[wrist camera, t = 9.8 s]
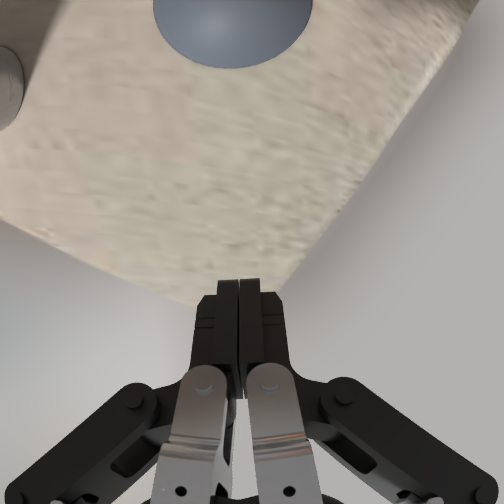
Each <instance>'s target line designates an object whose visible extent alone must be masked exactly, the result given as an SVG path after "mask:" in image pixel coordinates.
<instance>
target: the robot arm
mask: <svg viewBox="0 0 504 504" xmlns="http://www.w3.org/2000/svg"><path fill="white" fill-rule="evenodd" d="M23 89H24V80H23V72H22V68H21V65H20V62H19V60H18V58H17V57H16V55H15V54H14V53H13V52H12V51H11V50H9V49H8V48H5V47H0V131H1V130H3V129H5V128H6V127H7V126H8V125H9V124H10V123H11V122H12V121H13V120H14V118H15V116H16V115H17V113H18V111H19V108H20V105H21V102H22V97H23ZM243 389H244V396H245V399H248V407H249V415H250V425H251V432H252V442H253V453H254V462H255V471H256V478H257V487H258V495H257V496H254V497H249V498H245V499H241V500H235V499H231V494H232V458H233V446H234V435H235V423H236V399H243ZM307 438H310V439H313V440H314V441H315V442H316V443H317V444H318V445H320V446H321V447H322V448H323V449H324V450H325V451H327V452H328V453H329V454H330V455H331V456H333V457H334V458H335V459H336V460H337V461H339V462H340V463H341V464H342V465H343V466H345V467H346V468H347V469H348V470H350V471H351V472H352V473H353V474H355V475H356V476H357V477H358V478H360V479H361V480H362V481H363V482H365V483H366V484H367V485H369V486H370V487H371V488H373V489H374V490H375V491H376V492H378V493H379V494H380V495H382V496H383V497H385V498H386V499H387V500H389V501H390V502H391V503H393V504H495V503H496V501H497V498H498V485H497V482H496V480H495V479H494V478H493V477H492V476H491V475H489V474H488V473H486V472H485V471H483V470H482V469H480V468H479V467H477V466H476V465H474V464H473V463H471V462H470V461H468V460H467V459H465V458H464V457H462V456H461V455H459V454H458V453H456V452H455V451H454V450H452V449H451V448H449V447H448V446H446V445H445V444H444V443H442V442H441V441H439V440H438V439H436V438H435V437H433V436H432V435H431V434H429V433H428V432H426V431H425V430H424V429H422V428H421V427H420V426H418V425H417V424H415V423H414V422H413V421H411V420H410V419H409V418H407V417H406V416H404V415H403V414H402V413H400V412H399V411H398V410H396V409H395V408H393V407H392V406H391V405H389V404H388V403H387V402H385V401H384V400H383V399H381V398H380V397H379V396H377V395H376V394H374V393H373V392H372V391H370V390H369V389H368V388H366V387H365V386H364V385H363V384H361V383H360V382H359V381H357V380H355V379H353V378H349V377H339V378H335V379H332V380H331V381H329V382H328V383H322V382H317V381H311V380H308V379H305V378H303V377H301V376H300V375H298V374H297V373H296V372H295V371H294V370H293V368H292V366H291V364H290V361H289V352H288V344H287V336H286V328H285V320H284V313H283V305H282V301H281V300H280V298H279V297H278V295H277V294H276V292H260V278H254V279H240V289H239V281H238V279H237V280H218V285H217V295H204V297H203V298H202V300H201V301H200V303H199V304H198V306H197V313H196V321H195V330H194V336H193V344H192V352H191V361H190V367H189V370H188V372H187V373H185V375H184V376H183V378H182V379H181V380H179V381H178V382H176V383H174V384H172V385H169V386H165V387H161V388H157V389H153V390H152V388H151V387H149V386H148V385H146V384H143V383H131V384H128V385H126V386H124V387H123V388H122V389H120V390H119V391H118V392H117V393H116V394H115V395H114V396H112V397H111V398H110V399H109V400H108V401H107V402H105V403H104V404H103V405H102V406H101V407H100V408H99V409H97V410H96V411H95V412H94V413H93V414H92V415H90V416H89V417H88V418H87V419H86V420H85V421H84V422H82V423H81V424H80V425H79V426H78V427H76V428H75V429H74V430H73V431H72V432H71V433H69V435H67V436H66V437H65V438H64V439H62V440H61V441H60V442H59V443H58V444H57V445H56V446H54V447H53V448H52V449H51V450H50V451H48V452H47V453H46V454H45V455H44V456H42V457H41V458H40V459H39V460H38V461H36V462H35V463H34V464H33V465H32V466H31V467H29V468H28V469H27V470H26V471H25V472H23V473H22V474H21V475H20V476H19V477H17V478H16V479H15V480H14V481H12V482H11V483H10V484H9V485H8V486H7V488H6V491H5V504H111V503H112V502H113V501H114V500H116V499H117V498H118V497H119V496H120V495H121V494H123V493H124V492H125V491H126V490H127V489H128V488H129V487H130V486H132V485H133V484H134V483H135V482H136V481H137V480H138V479H139V478H140V477H141V476H143V475H144V474H145V473H146V472H147V471H148V470H149V469H150V468H151V467H152V466H153V465H154V464H155V463H157V467H156V473H155V478H154V484H153V489H152V495H151V498H150V499H149V500H147V501H145V502H143V503H142V504H343V503H342V502H340V501H339V500H337V499H335V498H332V497H330V496H327V495H324V494H321V491H320V486H319V481H318V476H317V471H316V466H315V461H314V456H313V452H312V448H311V444H310V442H309V440H308V439H307Z"/></svg>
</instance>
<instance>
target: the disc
mask: <svg viewBox="0 0 504 504" xmlns="http://www.w3.org/2000/svg"><path fill="white" fill-rule="evenodd" d="M153 10H154V17H155V20H156V24H157V27H158V29H159V31H160V33H161V34H162V36H163V37H164V39H165V40H166V41H167V42H168V43H169V45H170V46H171V47H172V48H173V49H175V50H176V51H177V52H178V53H180V54H181V55H183V56H185V57H186V58H188V59H190V60H192V61H194V62H197V63H200V64H203V65H206V66H211V67H216V68H242V67H249V66H253V65H257V64H260V63H263V62H265V61H268V60H270V59H272V58H274V57H276V56H277V55H279V54H280V53H282V52H284V51H285V50H286V49H287V48H288V47H290V46H291V45H292V44H293V43H294V42H295V41H296V40H297V38H298V37H299V36H300V34H301V33H302V31H303V30H304V28H305V26H306V24H307V21H308V18H309V15H310V10H311V0H154V1H153Z"/></svg>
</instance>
